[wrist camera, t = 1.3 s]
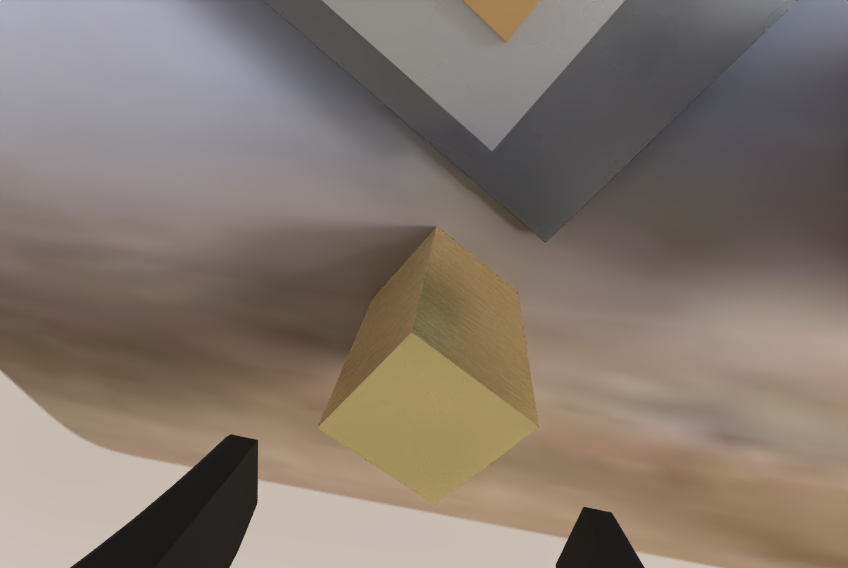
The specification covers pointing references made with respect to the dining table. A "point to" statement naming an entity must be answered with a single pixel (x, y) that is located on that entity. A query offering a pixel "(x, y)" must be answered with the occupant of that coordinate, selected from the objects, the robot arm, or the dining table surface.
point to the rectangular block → (436, 373)
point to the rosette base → (572, 104)
